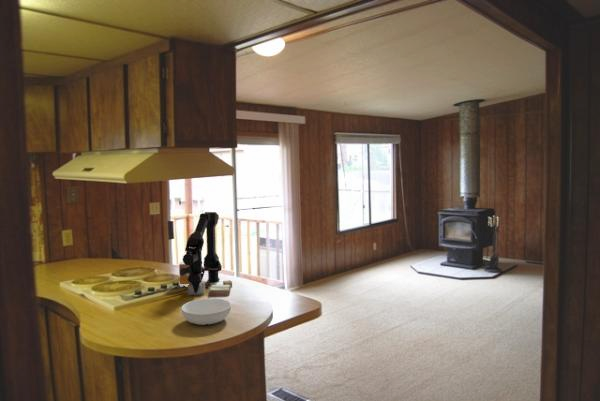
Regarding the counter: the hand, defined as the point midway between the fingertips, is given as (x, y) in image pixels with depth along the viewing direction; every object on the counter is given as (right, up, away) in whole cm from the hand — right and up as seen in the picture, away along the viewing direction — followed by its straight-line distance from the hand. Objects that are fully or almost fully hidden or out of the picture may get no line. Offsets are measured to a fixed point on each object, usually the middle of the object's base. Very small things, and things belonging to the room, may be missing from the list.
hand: (196, 290), depth 241 cm
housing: (0, -2, 0) cm, 2 cm away
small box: (-8, -1, +14) cm, 17 cm away
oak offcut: (+14, -1, +12) cm, 19 cm away
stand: (+12, -1, 0) cm, 12 cm away
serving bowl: (+14, -5, -42) cm, 44 cm away
